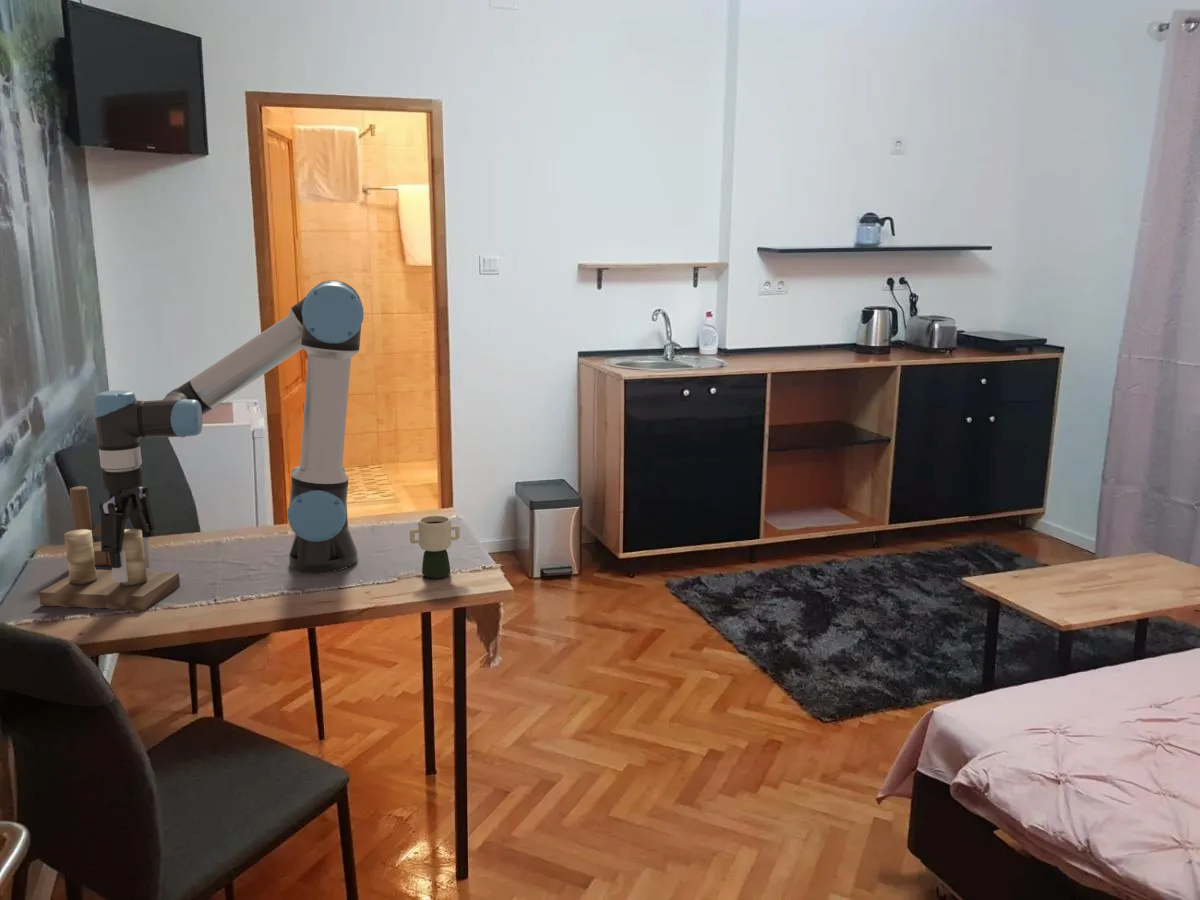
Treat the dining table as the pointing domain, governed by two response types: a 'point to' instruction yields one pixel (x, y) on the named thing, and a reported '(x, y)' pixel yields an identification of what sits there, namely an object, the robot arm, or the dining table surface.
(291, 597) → the dining table surface
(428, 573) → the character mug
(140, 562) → the beech peg
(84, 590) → the walnut board
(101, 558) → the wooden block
